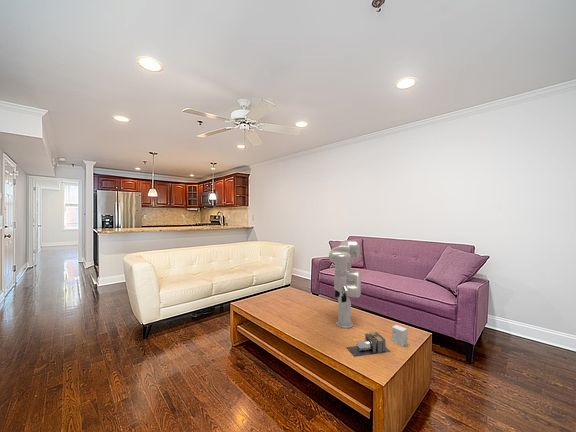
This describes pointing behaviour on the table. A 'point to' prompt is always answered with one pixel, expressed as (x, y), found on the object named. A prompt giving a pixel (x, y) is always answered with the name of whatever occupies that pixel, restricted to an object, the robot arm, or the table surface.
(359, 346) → the tube
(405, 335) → the small box
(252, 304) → the table surface
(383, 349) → the rail
